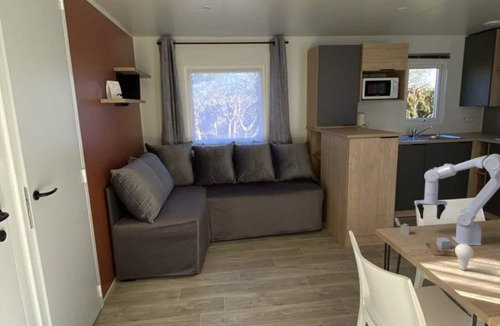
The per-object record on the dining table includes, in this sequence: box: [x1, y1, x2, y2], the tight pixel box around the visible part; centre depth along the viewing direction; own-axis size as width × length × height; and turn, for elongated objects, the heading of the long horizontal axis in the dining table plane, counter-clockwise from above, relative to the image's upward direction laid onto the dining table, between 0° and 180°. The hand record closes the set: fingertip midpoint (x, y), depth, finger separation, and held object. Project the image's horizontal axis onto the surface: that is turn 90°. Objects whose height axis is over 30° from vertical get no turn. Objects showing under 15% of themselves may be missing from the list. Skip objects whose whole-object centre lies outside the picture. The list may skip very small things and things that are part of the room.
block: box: [436, 237, 452, 249], centre depth 139 cm, size 4×4×4 cm
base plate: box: [425, 242, 458, 258], centre depth 140 cm, size 11×11×2 cm
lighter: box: [394, 217, 411, 236], centre depth 160 cm, size 7×2×8 cm, turn 55°
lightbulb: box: [455, 244, 475, 271], centre depth 122 cm, size 6×6×11 cm
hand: (429, 218), depth 156 cm, fingers open, 7 cm apart
